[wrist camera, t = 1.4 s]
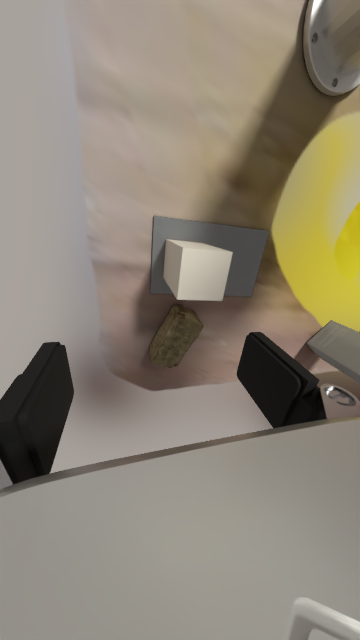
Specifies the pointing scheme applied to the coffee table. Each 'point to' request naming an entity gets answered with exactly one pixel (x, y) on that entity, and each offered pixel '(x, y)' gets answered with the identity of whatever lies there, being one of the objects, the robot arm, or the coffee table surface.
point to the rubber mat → (230, 238)
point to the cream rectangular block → (196, 270)
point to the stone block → (174, 337)
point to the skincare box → (338, 348)
